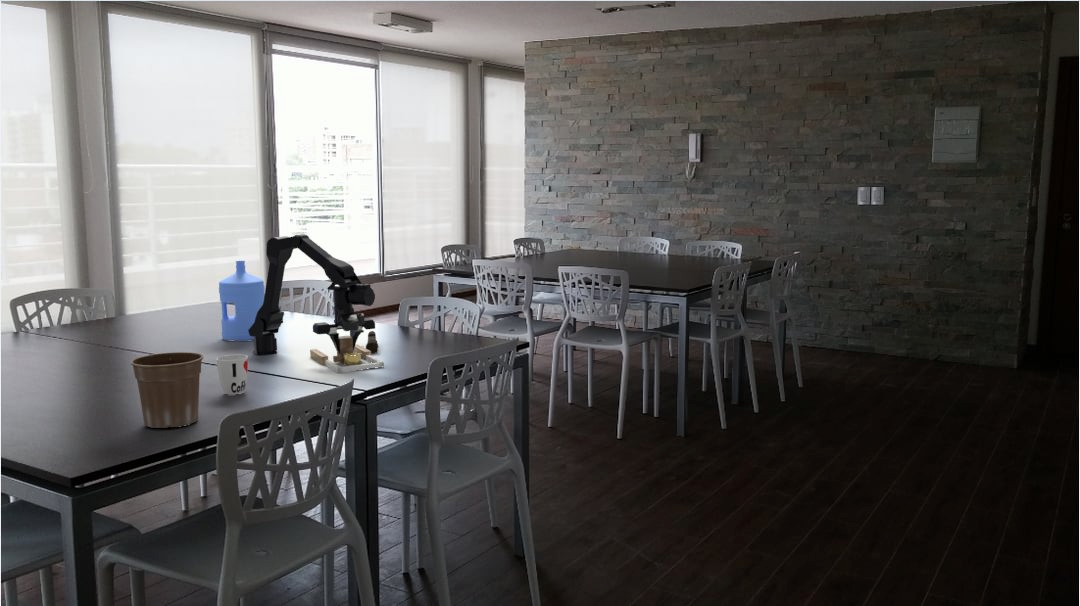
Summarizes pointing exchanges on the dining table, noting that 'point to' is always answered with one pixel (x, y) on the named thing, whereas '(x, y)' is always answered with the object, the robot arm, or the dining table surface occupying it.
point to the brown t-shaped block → (344, 348)
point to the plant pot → (168, 388)
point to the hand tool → (372, 342)
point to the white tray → (355, 367)
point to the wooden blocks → (322, 357)
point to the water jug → (240, 303)
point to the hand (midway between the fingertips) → (345, 352)
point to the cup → (233, 373)
